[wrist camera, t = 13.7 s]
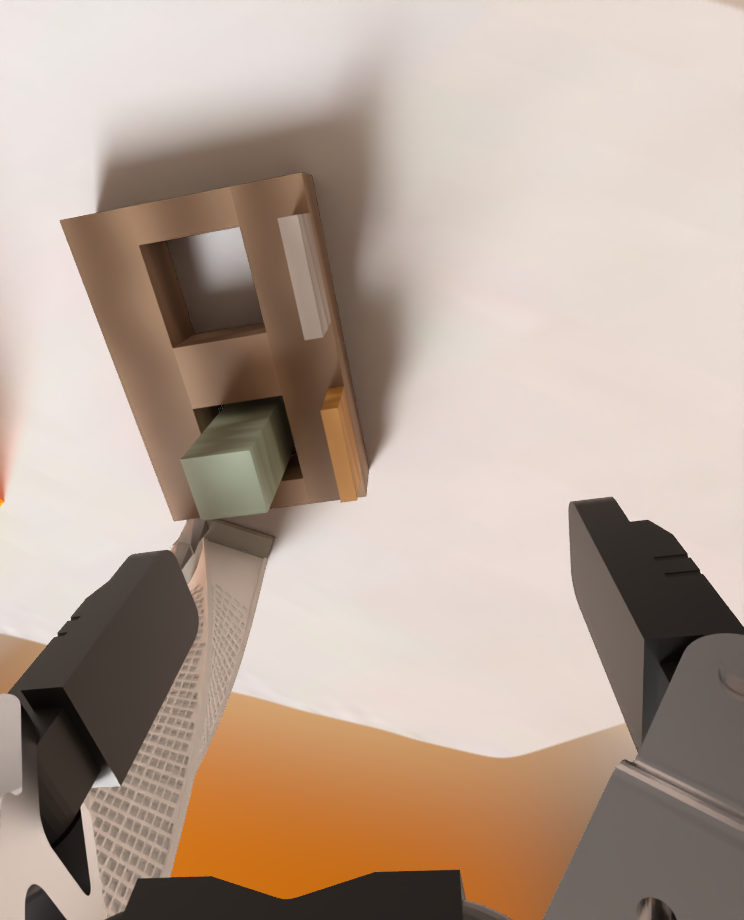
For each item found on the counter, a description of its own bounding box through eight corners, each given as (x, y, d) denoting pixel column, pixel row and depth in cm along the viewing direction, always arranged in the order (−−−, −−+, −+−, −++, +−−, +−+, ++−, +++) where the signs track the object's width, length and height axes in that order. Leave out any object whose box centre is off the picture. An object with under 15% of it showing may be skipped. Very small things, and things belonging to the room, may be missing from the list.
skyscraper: (291, 542, 44) (151, 1000, 19) (265, 614, 47) (117, 1085, 22) (190, 510, 43) (-101, 946, 18) (171, 586, 47) (-96, 1043, 21)
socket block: (311, 175, 33) (287, 168, 25) (368, 470, 41) (362, 527, 34) (95, 218, 34) (14, 223, 27) (192, 493, 42) (151, 554, 35)
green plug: (284, 391, 39) (249, 450, 30) (296, 442, 40) (267, 512, 31) (230, 399, 39) (180, 459, 30) (244, 449, 41) (201, 520, 32)
